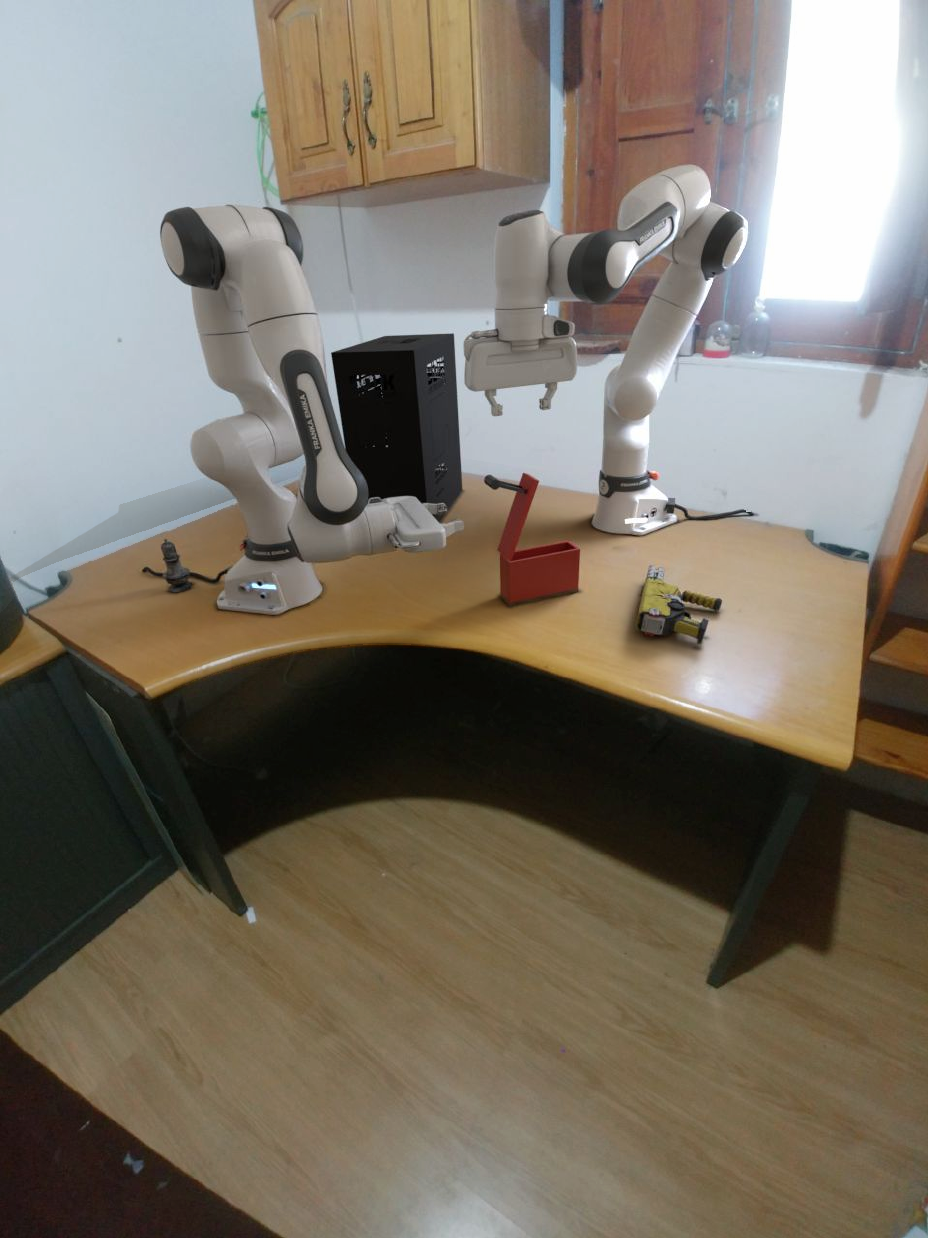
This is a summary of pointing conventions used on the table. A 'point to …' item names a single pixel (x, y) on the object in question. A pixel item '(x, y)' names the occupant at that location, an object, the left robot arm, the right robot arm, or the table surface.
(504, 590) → the chest
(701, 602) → the toy gun
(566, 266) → the right robot arm
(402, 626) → the table surface
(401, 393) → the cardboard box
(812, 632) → the table surface
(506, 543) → the lid
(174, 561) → the salt shaker
